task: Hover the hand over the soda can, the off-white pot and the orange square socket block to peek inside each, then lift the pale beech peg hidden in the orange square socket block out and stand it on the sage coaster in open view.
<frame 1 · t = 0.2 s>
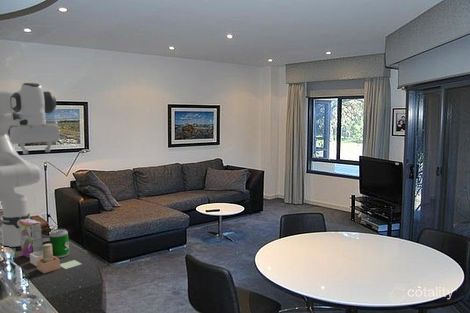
hand: (36, 152, 177), 47 cm above the counter, fingers open, 8 cm apart
candy bar box: (32, 257, 183), on the counter
soda can: (60, 257, 182), on the counter
coaster: (70, 265, 171), on the counter
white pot: (41, 263, 174), on the counter
beech peg: (48, 268, 167), point 1 cm above the counter, touching orange square socket block
orange square socket block: (49, 270, 167), on the counter
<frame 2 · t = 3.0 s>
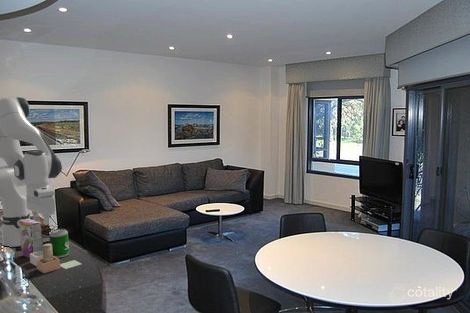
hand: (41, 222, 168), 19 cm above the counter, fingers open, 8 cm apart
nothing on the counter moved.
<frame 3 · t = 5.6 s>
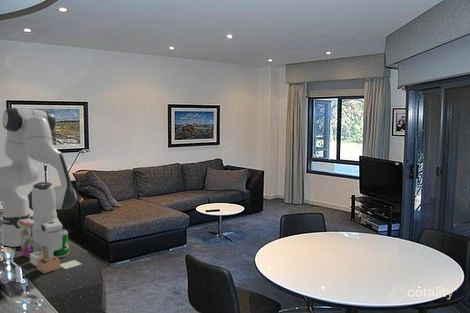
hand: (47, 255, 166), 6 cm above the counter, fingers closed on beech peg, 4 cm apart
beech peg: (48, 268, 167), point 1 cm above the counter, touching gripper, orange square socket block
everything else where it was.
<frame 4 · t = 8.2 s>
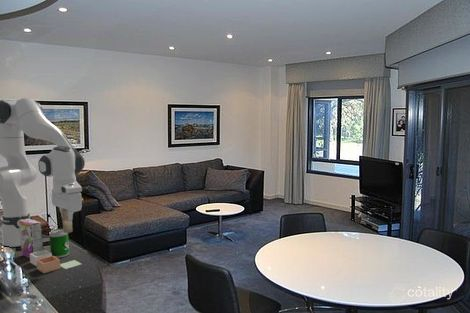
hand: (67, 218, 169), 20 cm above the counter, fingers closed on beech peg, 4 cm apart
beech peg: (68, 231, 169), point 15 cm above the counter, touching gripper
everything else where it was.
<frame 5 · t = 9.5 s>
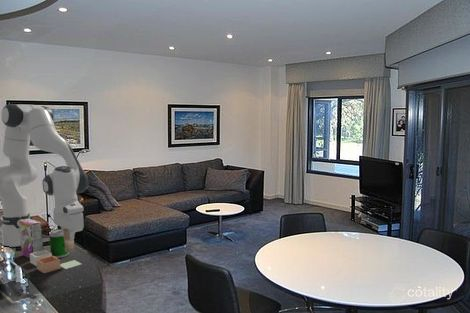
hand: (68, 238, 170), 12 cm above the counter, fingers closed on beech peg, 4 cm apart
beech peg: (69, 250, 170), point 7 cm above the counter, touching gripper
everything else where it was.
when the fingers open (8 cm above the counter, at t = 10.7 s): beech peg drops 1 cm, resting on coaster.
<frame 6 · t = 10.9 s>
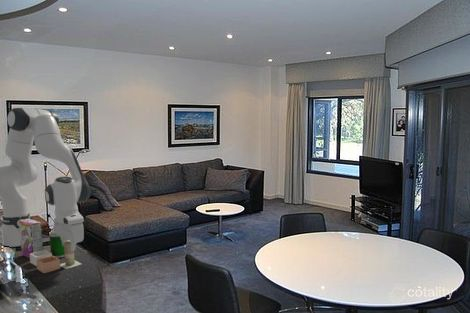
hand: (69, 248, 170), 8 cm above the counter, fingers open, 5 cm apart
beech peg: (70, 264, 171), point 1 cm above the counter, touching coaster
everything else where it was.
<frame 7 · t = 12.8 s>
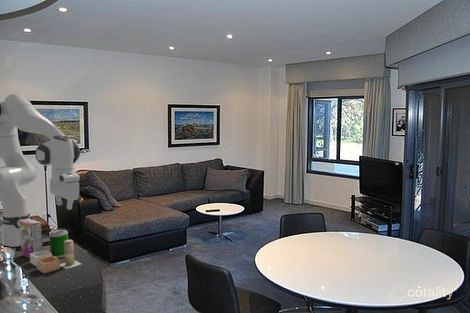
hand: (64, 207, 172), 25 cm above the counter, fingers open, 8 cm apart
nothing on the counter moved.
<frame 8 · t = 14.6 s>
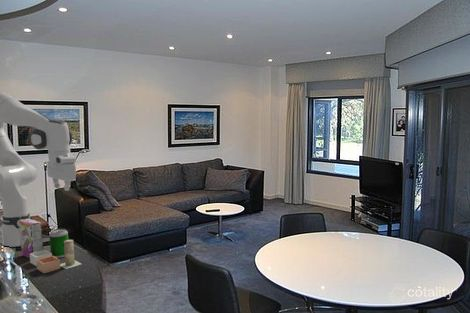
hand: (61, 189, 176), 31 cm above the counter, fingers open, 8 cm apart
nothing on the counter moved.
at the end: beech peg inside the target area on the coaster (0.1 cm from its centre), point 0.6 cm above the coaster's base; beech peg tilted 1°; the gripper is holding nothing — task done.
